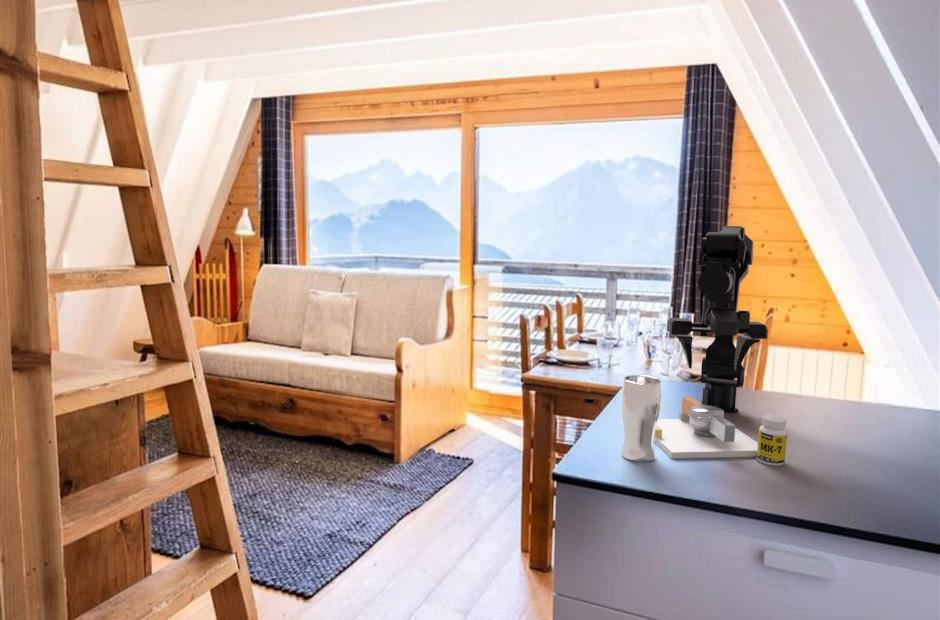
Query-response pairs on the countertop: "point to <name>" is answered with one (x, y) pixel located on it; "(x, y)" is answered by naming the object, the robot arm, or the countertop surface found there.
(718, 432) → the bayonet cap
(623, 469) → the countertop surface
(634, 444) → the beer glass
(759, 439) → the supplement bottle
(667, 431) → the coupling board
